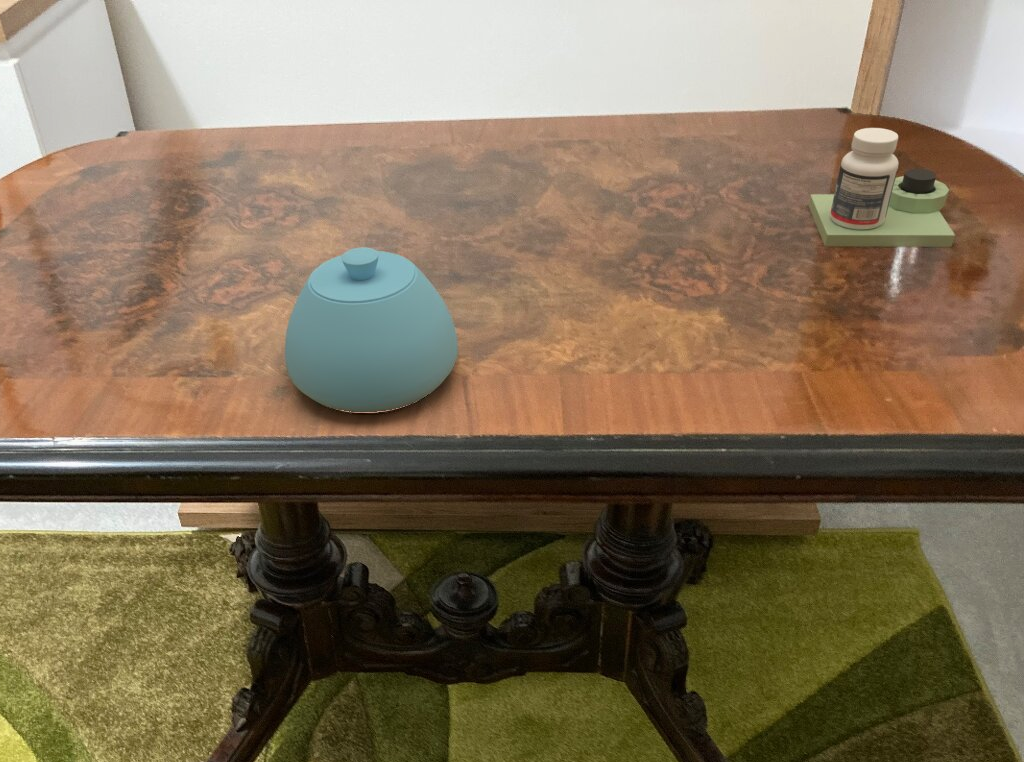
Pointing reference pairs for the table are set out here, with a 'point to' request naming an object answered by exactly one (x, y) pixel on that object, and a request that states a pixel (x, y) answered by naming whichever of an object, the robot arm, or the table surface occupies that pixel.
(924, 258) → the table surface
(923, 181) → the button
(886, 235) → the scale
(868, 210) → the pill bottle
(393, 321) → the sugar bowl
